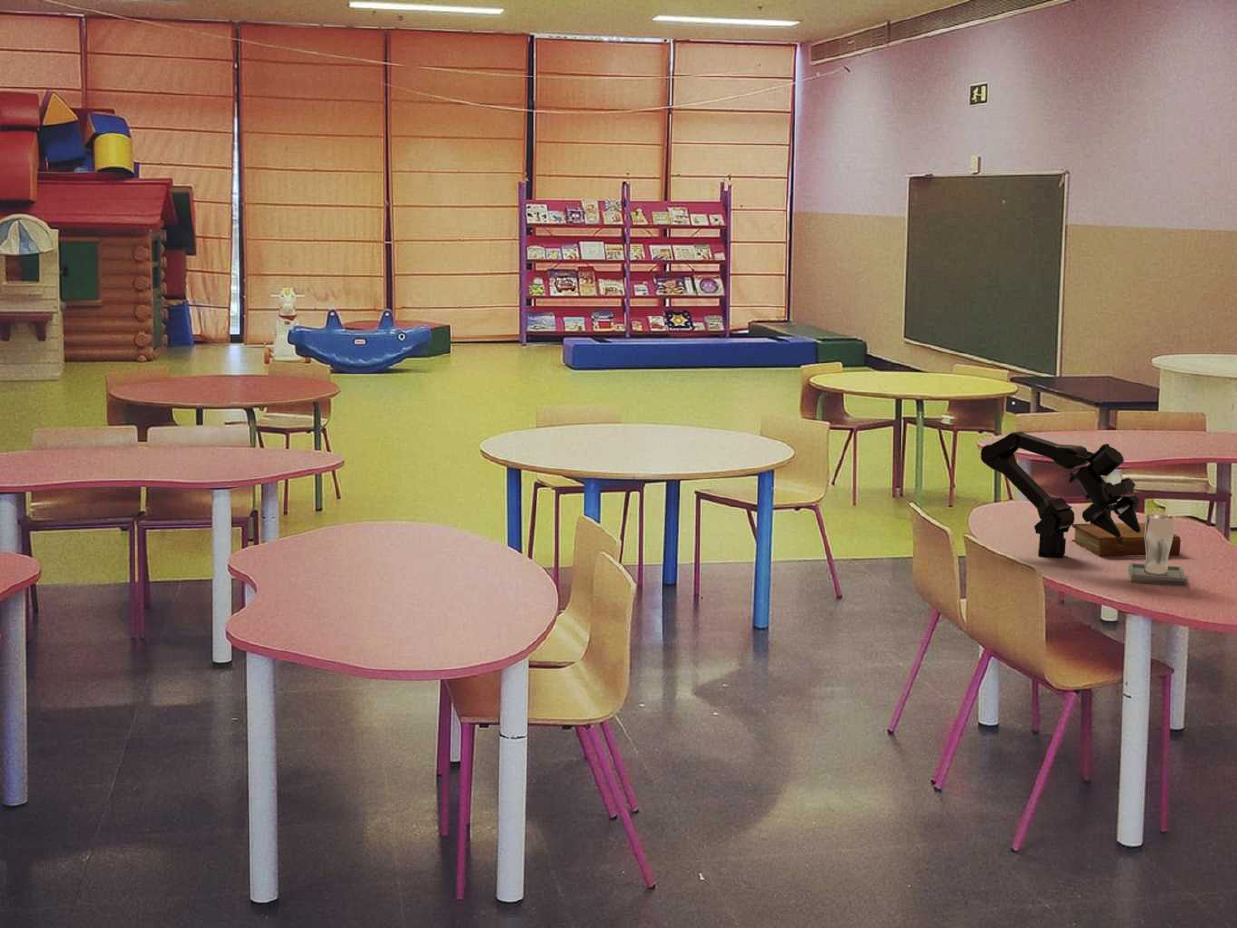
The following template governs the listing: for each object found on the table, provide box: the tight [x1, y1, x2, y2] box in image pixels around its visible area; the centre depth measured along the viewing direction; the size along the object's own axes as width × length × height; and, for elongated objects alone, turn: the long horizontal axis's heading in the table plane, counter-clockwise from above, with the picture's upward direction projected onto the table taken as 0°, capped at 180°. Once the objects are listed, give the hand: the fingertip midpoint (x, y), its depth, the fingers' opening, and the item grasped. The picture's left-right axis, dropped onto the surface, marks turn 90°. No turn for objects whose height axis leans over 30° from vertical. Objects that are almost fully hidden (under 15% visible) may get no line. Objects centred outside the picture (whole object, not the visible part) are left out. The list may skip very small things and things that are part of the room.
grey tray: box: [1127, 562, 1187, 587], centre depth 357 cm, size 13×13×2 cm
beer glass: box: [1143, 513, 1175, 576], centre depth 356 cm, size 7×7×15 cm
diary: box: [1071, 522, 1181, 557], centre depth 390 cm, size 23×19×6 cm
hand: (1129, 534), depth 362 cm, fingers open, 9 cm apart
